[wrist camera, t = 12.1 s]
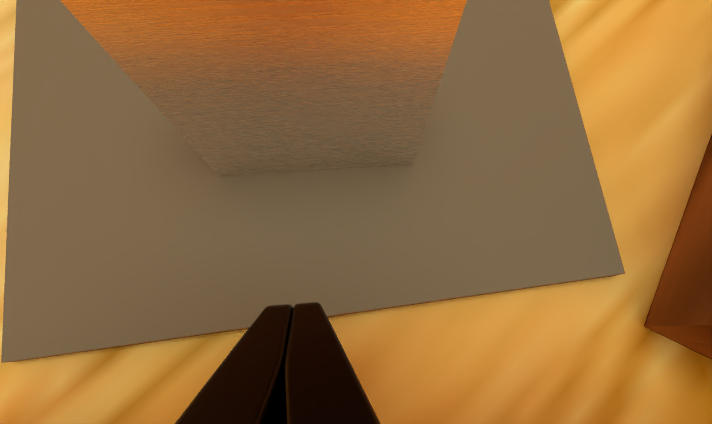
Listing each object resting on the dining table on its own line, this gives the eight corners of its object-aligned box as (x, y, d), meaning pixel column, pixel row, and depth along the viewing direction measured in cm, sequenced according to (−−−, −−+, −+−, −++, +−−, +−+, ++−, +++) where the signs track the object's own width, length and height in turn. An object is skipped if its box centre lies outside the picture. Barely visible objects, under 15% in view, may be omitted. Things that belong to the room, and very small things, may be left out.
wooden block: (413, 164, 15) (493, -81, 6) (219, 176, 15) (12, -54, 6) (407, 105, 15) (473, -201, 6) (219, 117, 15) (28, -177, 6)
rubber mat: (614, 275, 14) (625, 273, 14) (16, 361, 14) (1, 362, 13) (491, -175, 19) (495, -191, 18) (33, -123, 18) (22, -138, 18)
